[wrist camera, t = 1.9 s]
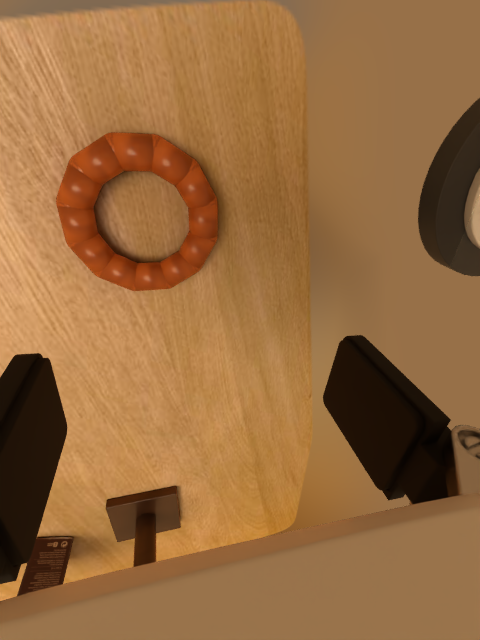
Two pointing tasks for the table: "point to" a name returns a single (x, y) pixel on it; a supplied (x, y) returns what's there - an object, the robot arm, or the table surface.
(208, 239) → the ring
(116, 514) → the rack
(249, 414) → the table surface
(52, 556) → the box
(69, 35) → the table surface
